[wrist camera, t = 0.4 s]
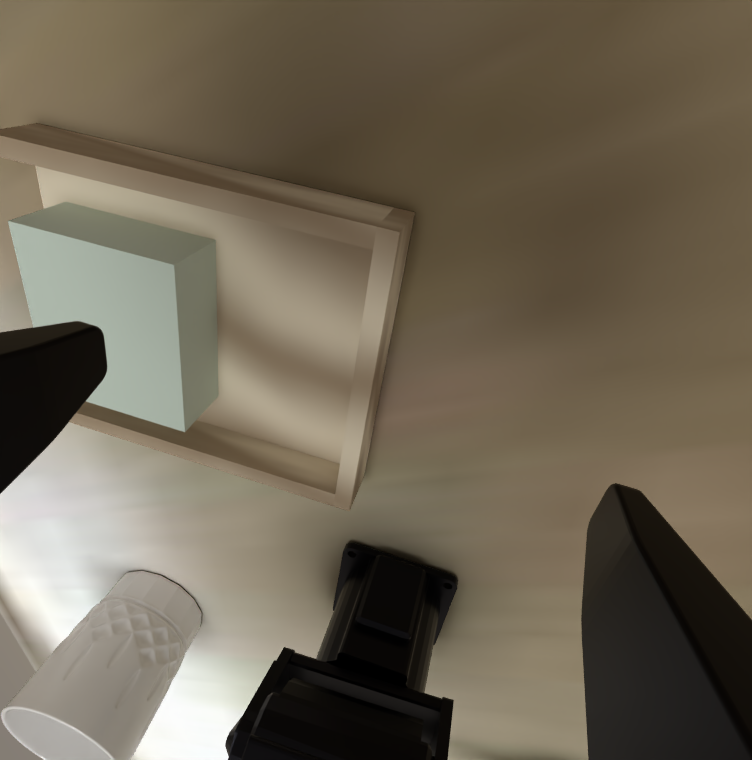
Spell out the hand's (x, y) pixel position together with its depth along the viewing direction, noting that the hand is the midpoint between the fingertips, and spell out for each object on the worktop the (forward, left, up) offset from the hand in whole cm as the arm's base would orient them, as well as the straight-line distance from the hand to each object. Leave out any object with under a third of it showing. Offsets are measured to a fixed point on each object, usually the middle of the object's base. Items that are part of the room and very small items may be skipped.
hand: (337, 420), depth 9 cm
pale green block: (-7, +13, -12) cm, 19 cm away
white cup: (-32, +14, -13) cm, 37 cm away
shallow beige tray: (-7, +9, -13) cm, 17 cm away
